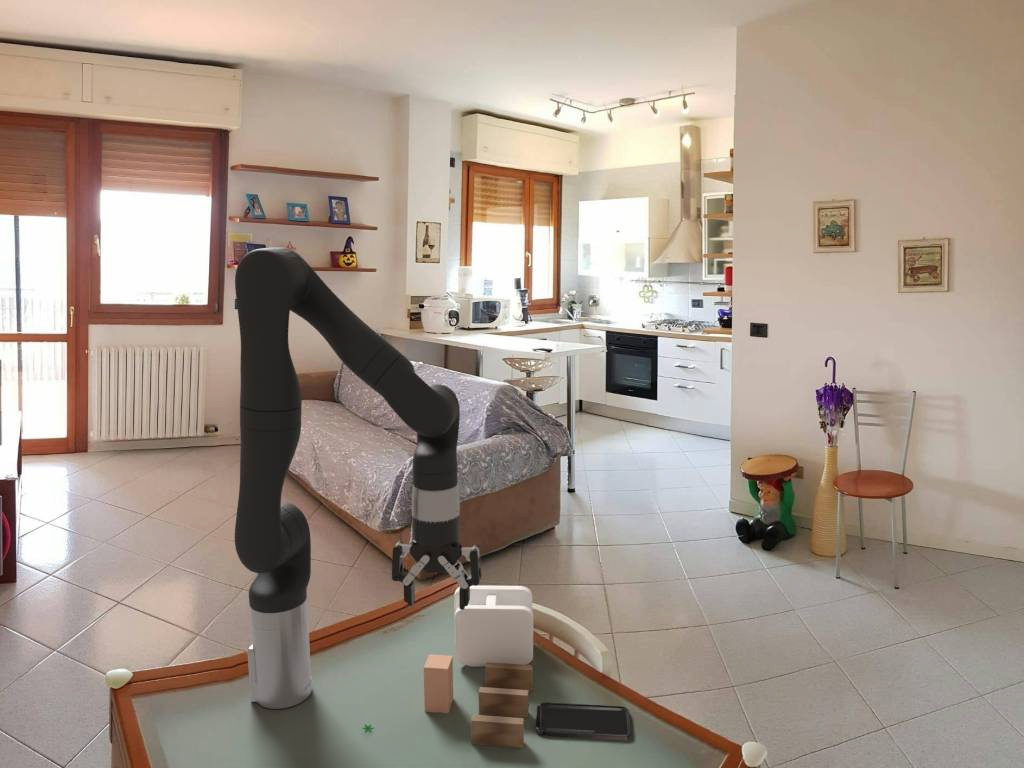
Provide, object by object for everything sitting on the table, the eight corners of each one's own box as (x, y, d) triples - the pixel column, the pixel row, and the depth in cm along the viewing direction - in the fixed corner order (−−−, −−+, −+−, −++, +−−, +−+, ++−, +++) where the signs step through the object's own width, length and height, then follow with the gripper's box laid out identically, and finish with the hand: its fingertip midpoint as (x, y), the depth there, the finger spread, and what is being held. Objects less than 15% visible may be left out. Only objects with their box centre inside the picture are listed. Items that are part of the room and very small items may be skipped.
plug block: (424, 711, 128) (423, 667, 126) (430, 697, 132) (429, 654, 130) (448, 713, 127) (447, 668, 126) (453, 698, 131) (452, 655, 130)
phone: (537, 702, 129) (628, 706, 128) (537, 708, 129) (628, 712, 128) (535, 731, 122) (631, 736, 120) (535, 738, 122) (631, 743, 121)
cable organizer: (450, 668, 141) (449, 608, 138) (455, 638, 151) (454, 582, 149) (532, 669, 140) (533, 610, 138) (532, 639, 151) (533, 583, 148)
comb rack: (471, 743, 120) (471, 720, 119) (486, 683, 136) (486, 662, 135) (522, 747, 119) (522, 724, 118) (532, 686, 135) (532, 665, 134)
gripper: (385, 517, 120) (388, 614, 123) (476, 521, 119) (476, 619, 122) (397, 501, 127) (400, 592, 131) (483, 505, 126) (483, 597, 129)
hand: (437, 605), depth 126 cm, fingers open, 8 cm apart
